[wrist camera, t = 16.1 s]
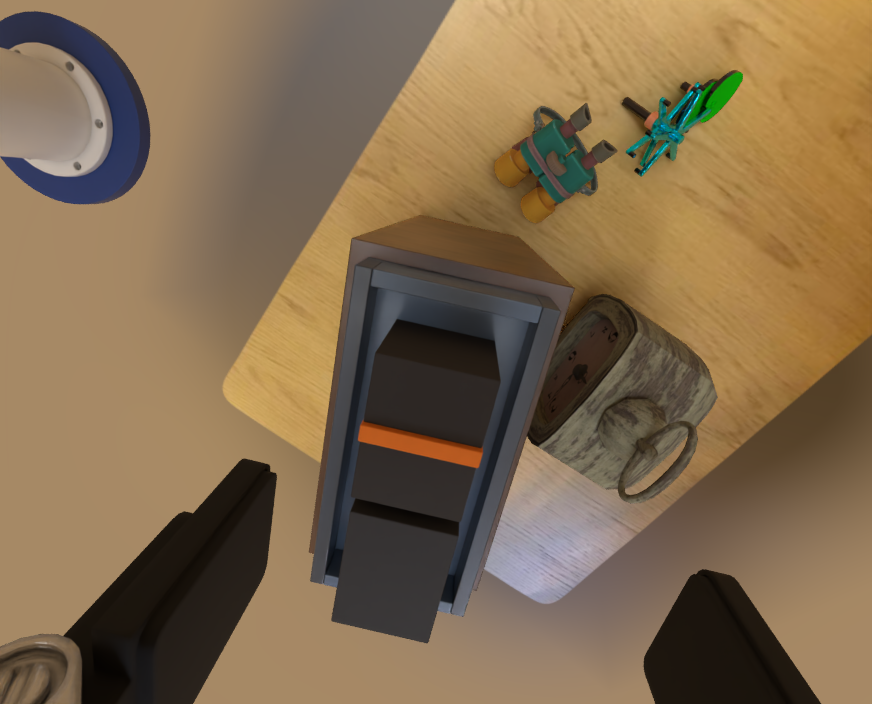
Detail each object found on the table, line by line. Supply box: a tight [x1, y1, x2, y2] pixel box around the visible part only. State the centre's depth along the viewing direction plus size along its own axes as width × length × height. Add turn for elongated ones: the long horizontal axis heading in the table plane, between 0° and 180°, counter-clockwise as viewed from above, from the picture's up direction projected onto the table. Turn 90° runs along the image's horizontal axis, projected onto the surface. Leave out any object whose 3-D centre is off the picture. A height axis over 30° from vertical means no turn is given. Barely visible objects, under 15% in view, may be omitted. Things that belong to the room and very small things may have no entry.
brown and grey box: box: [309, 215, 575, 617], centre depth 36 cm, size 11×20×31 cm, turn 168°
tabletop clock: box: [527, 294, 718, 504], centre depth 39 cm, size 14×9×25 cm, turn 147°
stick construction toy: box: [622, 70, 743, 177], centre depth 41 cm, size 12×7×8 cm
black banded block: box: [351, 319, 501, 522], centre depth 20 cm, size 5×7×5 cm
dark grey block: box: [332, 498, 459, 643], centre depth 23 cm, size 5×7×5 cm
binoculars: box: [494, 103, 617, 223], centre depth 40 cm, size 9×9×10 cm
